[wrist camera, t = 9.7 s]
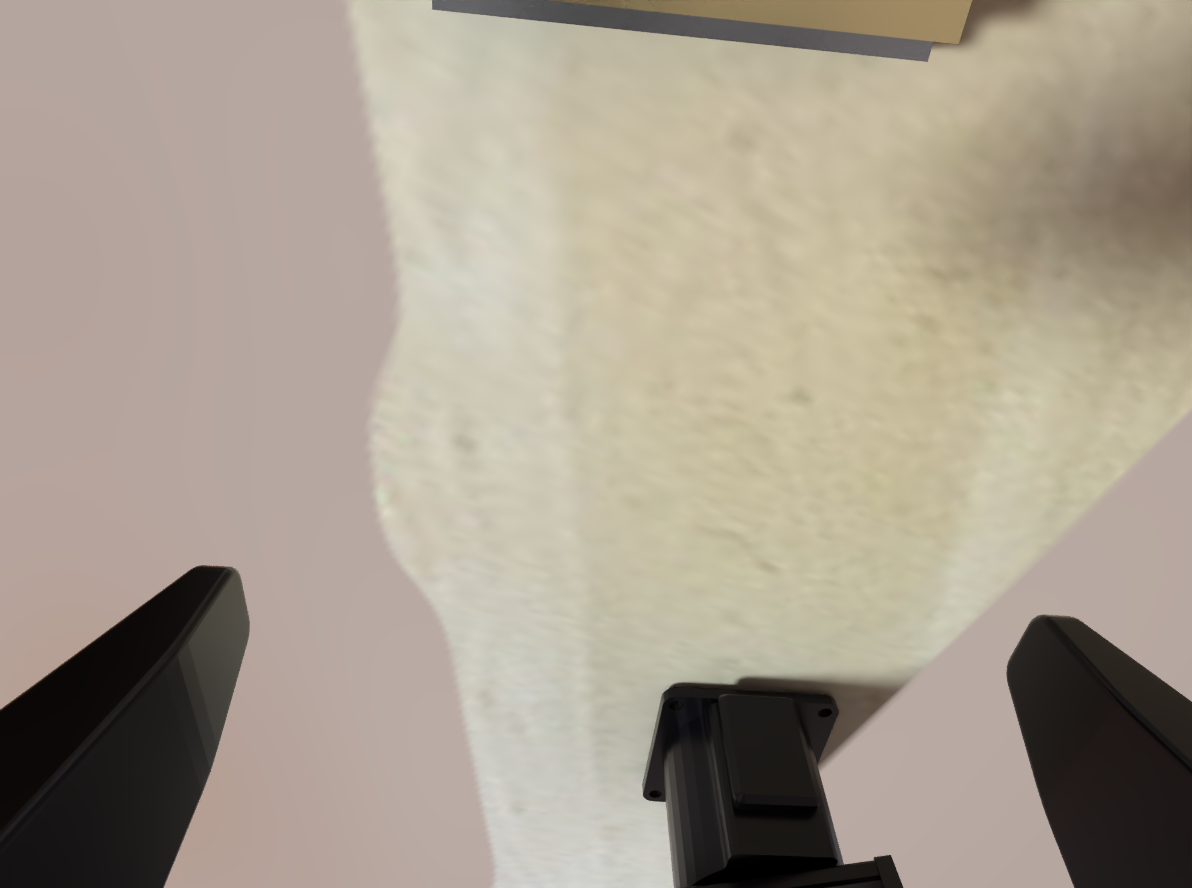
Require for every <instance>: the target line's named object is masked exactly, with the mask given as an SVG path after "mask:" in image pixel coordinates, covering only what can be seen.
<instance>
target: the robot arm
mask: <svg viewBox="0 0 1192 888" xmlns="http://www.w3.org/2000/svg"><path fill="white" fill-rule="evenodd" d="M249 627H250V622H249V615H248V610H247V605H246V601H245V596H244V591H243V586H242V581H241V577H240V574H239V572H238V571H237V570H236V569H235V568H232V567H224V566H206V565H201V566H197V567H195V568H193V569H191V570H189V571H188V572H187V573H185V574H184V575H183V576H181V577H180V578H178V579H177V580H176V581H174V582H173V583H172V584H170V585H169V586H168V587H166V588H165V589H163V590H162V591H161V592H159V593H158V594H157V595H155V596H154V597H153V598H152V599H150V600H149V601H147V602H146V603H145V604H143V605H142V606H140V607H139V608H138V609H136V610H135V611H134V612H132V613H131V614H130V615H128V616H127V617H125V618H124V619H123V620H121V621H120V622H119V623H117V624H116V625H115V626H113V627H112V628H110V629H109V630H108V631H106V632H105V633H104V634H102V635H101V636H100V637H98V638H97V639H95V640H94V641H93V642H91V643H90V644H89V645H87V646H86V647H85V648H84V649H82V650H81V651H79V652H78V653H77V654H75V655H74V656H72V657H71V658H70V659H68V660H67V661H66V662H64V663H63V664H61V665H60V666H59V667H58V668H56V669H55V670H53V671H52V672H51V673H49V674H48V675H47V676H45V677H44V678H43V679H41V680H40V681H38V682H37V683H36V684H34V685H33V686H32V687H30V688H29V689H27V690H26V691H25V692H23V693H22V694H21V695H19V696H18V697H17V698H16V699H14V700H13V701H11V702H10V703H9V704H7V705H6V706H4V707H3V708H2V709H0V888H164V886H165V883H166V881H167V878H168V876H169V873H170V871H171V868H172V866H173V864H174V861H175V859H176V856H177V854H178V851H179V849H180V847H181V844H182V842H183V839H184V837H185V834H186V832H187V829H188V827H189V824H190V822H191V820H192V817H193V815H194V812H195V810H196V807H197V805H198V803H199V800H200V798H201V795H202V793H203V790H204V787H205V785H206V782H207V779H208V777H209V774H210V772H211V768H212V765H213V762H214V758H215V755H216V752H217V749H218V745H219V741H220V738H221V734H222V731H223V727H224V724H225V720H226V717H227V713H228V710H229V706H230V702H231V699H232V695H233V692H234V688H235V685H236V681H237V678H238V674H239V671H240V667H241V663H242V660H243V656H244V653H245V649H246V646H247V641H248V637H249ZM1007 681H1008V686H1009V689H1010V693H1011V696H1012V700H1013V704H1014V707H1015V711H1016V714H1017V718H1018V721H1019V725H1020V728H1021V732H1022V736H1023V739H1024V743H1025V746H1026V750H1027V753H1028V757H1029V761H1030V764H1031V768H1032V771H1033V775H1034V778H1035V782H1036V785H1037V788H1038V792H1039V795H1040V798H1041V801H1042V804H1043V807H1044V810H1045V813H1046V816H1047V818H1048V821H1049V824H1050V827H1051V829H1052V832H1053V834H1054V837H1055V840H1056V842H1057V844H1058V847H1059V849H1060V852H1061V855H1062V857H1063V860H1064V862H1065V865H1066V867H1067V870H1068V872H1069V875H1070V878H1071V880H1072V883H1073V885H1074V888H1192V702H1191V701H1190V700H1188V699H1187V698H1186V697H1184V696H1183V695H1182V694H1180V693H1179V692H1178V691H1176V690H1175V689H1173V688H1172V687H1171V686H1169V685H1168V684H1167V683H1165V682H1164V681H1162V680H1161V679H1160V678H1158V677H1157V676H1156V675H1154V674H1153V673H1152V672H1150V671H1149V670H1147V669H1146V668H1145V667H1143V666H1142V665H1140V664H1139V663H1138V662H1136V661H1135V660H1134V659H1132V658H1131V657H1129V656H1128V655H1127V654H1125V653H1124V652H1123V651H1121V650H1120V649H1118V648H1117V647H1116V646H1114V645H1113V644H1112V643H1110V642H1109V641H1108V640H1106V639H1105V638H1103V637H1102V636H1101V635H1099V634H1098V633H1097V632H1095V631H1094V630H1092V629H1091V628H1090V627H1088V626H1087V625H1086V624H1084V623H1083V622H1081V621H1080V620H1078V619H1076V618H1074V617H1070V616H1058V615H1039V616H1037V617H1035V618H1034V619H1032V621H1031V622H1030V624H1029V625H1028V627H1027V629H1026V631H1025V632H1024V634H1023V636H1022V637H1021V639H1020V641H1019V643H1018V645H1017V646H1016V648H1015V650H1014V652H1013V653H1012V655H1011V657H1010V659H1009V661H1008V665H1007ZM838 712H839V710H838V706H837V703H836V701H835V699H834V698H833V697H831V696H827V695H813V694H793V693H773V692H754V691H734V690H715V689H695V688H671V689H668V690H666V691H665V692H664V693H663V694H662V697H661V702H660V706H659V711H658V715H657V720H656V725H655V729H654V734H653V738H652V743H651V747H650V752H649V757H648V761H647V766H646V770H645V775H644V779H643V784H642V786H643V796H644V798H645V799H647V800H649V801H659V802H666V807H667V818H668V829H669V839H670V850H671V861H672V872H673V882H674V888H903V886H902V883H901V881H900V878H899V875H898V873H897V870H896V867H895V865H894V862H893V860H892V857H891V855H887V856H880V857H874V861H867V862H860V863H853V864H845V865H844V863H843V859H842V855H841V852H840V848H839V844H838V841H837V837H836V833H835V830H834V826H833V822H832V818H831V814H830V811H829V807H828V803H827V799H826V796H825V792H824V788H823V785H822V781H821V777H820V773H819V770H818V766H817V764H818V762H819V759H820V757H821V754H822V752H823V750H824V747H825V745H826V742H827V740H828V737H829V735H830V733H831V730H832V728H833V725H834V723H835V721H836V718H837V716H838Z"/></svg>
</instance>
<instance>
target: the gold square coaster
mask: <svg viewBox="0 0 1192 888" xmlns="http://www.w3.org/2000/svg"><path fill="white" fill-rule="evenodd" d="M971 3H972V0H432V9H433V10H442V11H452V12H461V13H471V14H480V15H490V16H499V17H509V18H518V19H528V20H537V21H547V22H556V23H566V24H575V25H584V26H594V27H603V28H613V29H622V30H632V31H641V32H651V33H660V34H670V35H679V36H689V37H698V38H708V39H717V40H727V41H736V42H746V43H755V44H764V45H774V46H783V47H793V48H802V49H812V50H821V51H831V52H840V53H850V54H859V55H869V56H878V57H888V58H897V59H907V60H916V61H925V62H928V58H929V55H930V52H931V48H932V45H933V42H942V43H951V44H959V41H960V38H961V35H962V32H963V28H964V25H965V22H966V19H967V16H968V12H969V9H970V6H971Z"/></svg>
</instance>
